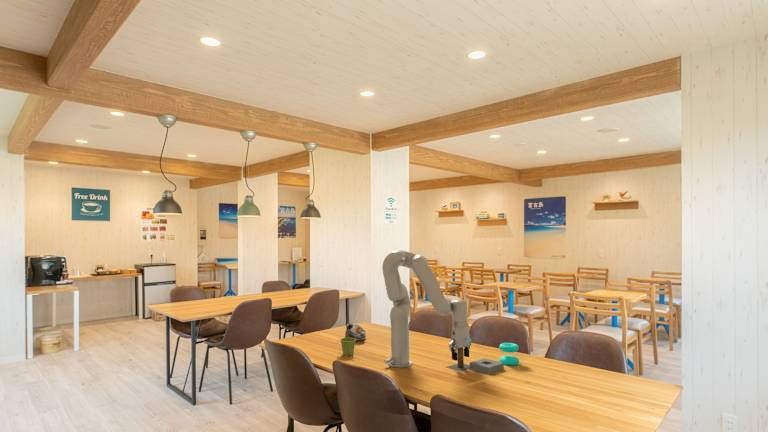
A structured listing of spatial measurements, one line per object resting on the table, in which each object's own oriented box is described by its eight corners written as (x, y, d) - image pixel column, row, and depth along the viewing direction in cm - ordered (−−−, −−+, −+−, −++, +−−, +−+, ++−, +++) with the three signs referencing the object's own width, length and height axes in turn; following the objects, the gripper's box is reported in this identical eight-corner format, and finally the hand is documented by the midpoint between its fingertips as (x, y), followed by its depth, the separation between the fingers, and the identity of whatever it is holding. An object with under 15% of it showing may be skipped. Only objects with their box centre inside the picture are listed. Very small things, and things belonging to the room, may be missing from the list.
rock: (369, 338, 295) (370, 321, 289) (360, 349, 285) (361, 332, 279) (350, 330, 301) (351, 313, 295) (340, 340, 291) (341, 323, 285)
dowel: (461, 368, 224) (460, 346, 224) (456, 366, 226) (456, 345, 227) (464, 367, 226) (464, 345, 226) (460, 365, 228) (459, 344, 228)
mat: (460, 372, 218) (460, 371, 218) (445, 367, 226) (445, 367, 226) (475, 367, 226) (475, 366, 226) (460, 363, 233) (460, 362, 233)
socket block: (489, 375, 213) (489, 367, 214) (469, 369, 223) (469, 362, 223) (503, 370, 221) (503, 363, 221) (484, 365, 230) (484, 358, 230)
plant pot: (357, 352, 258) (357, 337, 259) (354, 357, 249) (354, 341, 249) (341, 352, 259) (341, 337, 260) (338, 356, 250) (338, 341, 250)
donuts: (498, 341, 239) (517, 342, 237) (499, 360, 238) (518, 361, 236) (499, 346, 229) (519, 347, 227) (500, 365, 229) (520, 366, 227)
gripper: (454, 327, 218) (455, 363, 218) (476, 322, 230) (477, 356, 229) (442, 325, 224) (443, 360, 223) (465, 321, 235) (466, 353, 234)
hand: (460, 358), depth 226 cm, fingers open, 8 cm apart
